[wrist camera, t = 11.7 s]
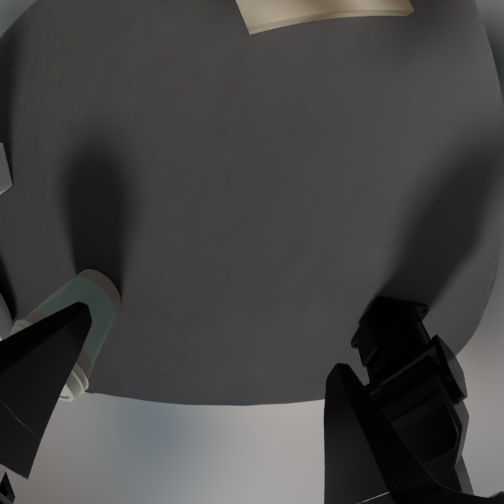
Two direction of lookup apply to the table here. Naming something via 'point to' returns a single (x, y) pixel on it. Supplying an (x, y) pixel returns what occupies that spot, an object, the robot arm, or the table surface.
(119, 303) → the coffee cup
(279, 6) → the board
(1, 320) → the serving bowl
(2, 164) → the syrup box
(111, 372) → the table surface
